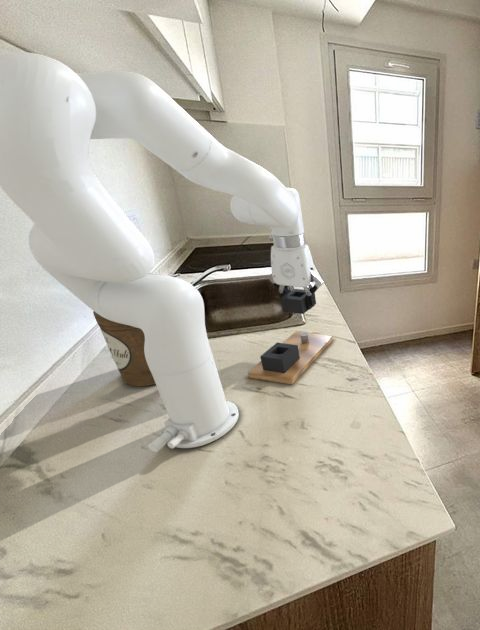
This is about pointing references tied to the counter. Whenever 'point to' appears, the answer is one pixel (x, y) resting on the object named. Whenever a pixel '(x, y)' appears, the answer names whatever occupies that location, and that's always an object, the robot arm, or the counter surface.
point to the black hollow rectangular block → (280, 357)
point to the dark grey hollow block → (295, 301)
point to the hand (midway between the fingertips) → (299, 305)
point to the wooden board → (308, 352)
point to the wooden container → (126, 351)
